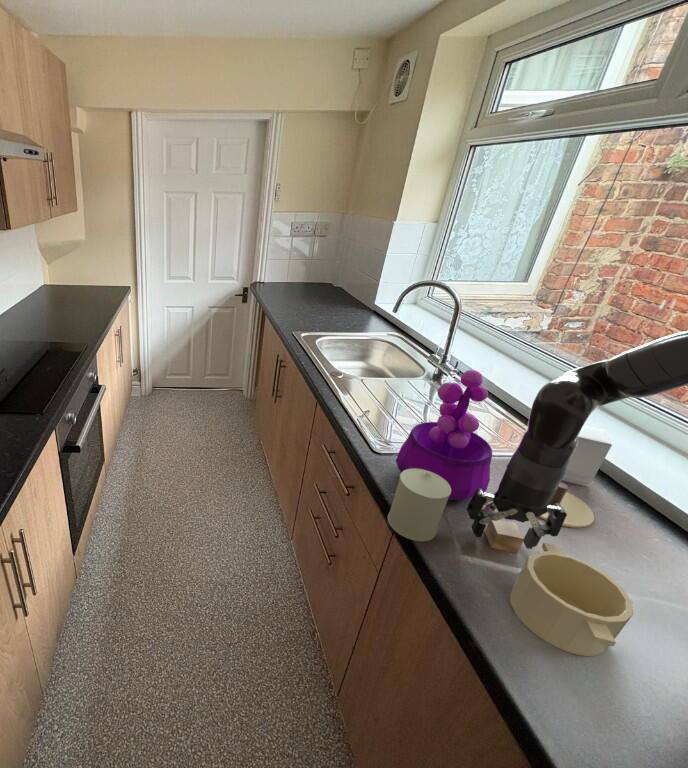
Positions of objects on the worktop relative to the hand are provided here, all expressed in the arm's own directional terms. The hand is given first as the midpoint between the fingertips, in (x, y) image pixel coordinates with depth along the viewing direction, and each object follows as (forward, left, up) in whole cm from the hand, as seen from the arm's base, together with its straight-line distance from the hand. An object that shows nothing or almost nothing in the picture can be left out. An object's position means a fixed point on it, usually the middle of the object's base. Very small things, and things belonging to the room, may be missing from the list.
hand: (501, 539), depth 83 cm
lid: (-14, -16, -1) cm, 21 cm away
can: (+16, 0, -2) cm, 16 cm away
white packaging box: (-22, -30, -2) cm, 37 cm away
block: (0, 0, -1) cm, 1 cm away
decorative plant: (+8, -17, -2) cm, 19 cm away
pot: (-4, +15, -1) cm, 15 cm away
